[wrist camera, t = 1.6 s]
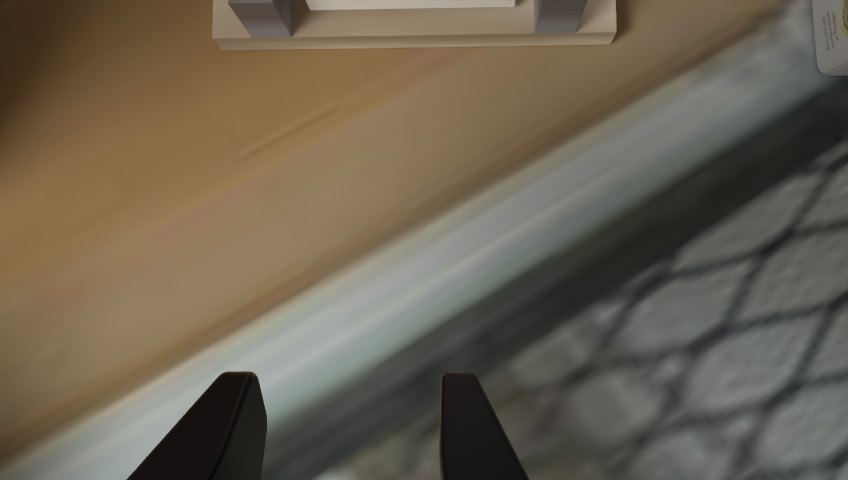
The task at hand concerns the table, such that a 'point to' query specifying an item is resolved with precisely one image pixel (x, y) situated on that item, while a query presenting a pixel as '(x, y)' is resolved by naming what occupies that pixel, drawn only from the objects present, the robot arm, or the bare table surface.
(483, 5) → the push knob
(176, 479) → the robot arm
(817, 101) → the table surface
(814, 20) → the coffee box
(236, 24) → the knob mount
